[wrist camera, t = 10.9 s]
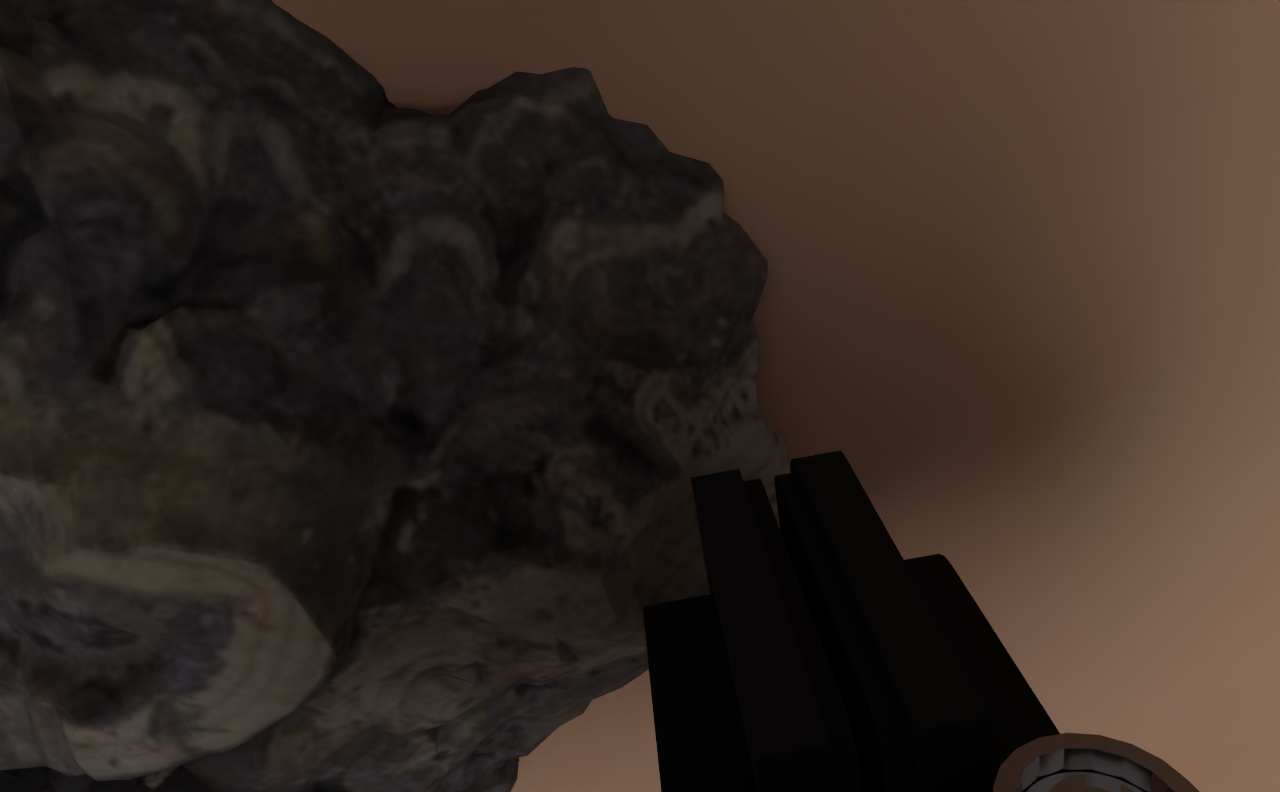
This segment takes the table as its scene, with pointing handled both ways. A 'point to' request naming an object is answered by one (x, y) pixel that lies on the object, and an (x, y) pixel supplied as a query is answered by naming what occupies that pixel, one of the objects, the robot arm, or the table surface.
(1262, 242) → the table surface
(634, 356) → the grey rough rock slab
